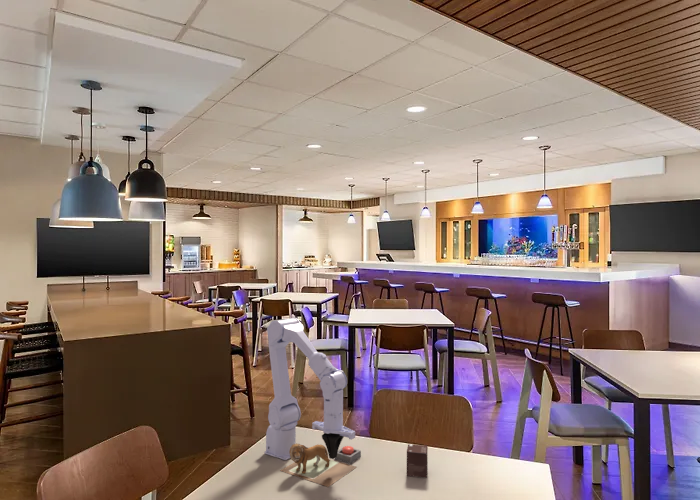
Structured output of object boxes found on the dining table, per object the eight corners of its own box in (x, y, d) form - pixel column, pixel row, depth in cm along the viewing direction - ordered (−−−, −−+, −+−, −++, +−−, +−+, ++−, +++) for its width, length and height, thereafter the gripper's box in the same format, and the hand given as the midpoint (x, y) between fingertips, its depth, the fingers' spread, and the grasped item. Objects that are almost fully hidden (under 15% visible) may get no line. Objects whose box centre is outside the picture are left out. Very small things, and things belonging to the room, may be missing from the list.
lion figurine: (295, 479, 139) (295, 448, 139) (285, 473, 143) (285, 442, 143) (334, 465, 148) (334, 435, 148) (324, 459, 153) (324, 431, 153)
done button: (340, 453, 153) (340, 449, 153) (346, 449, 156) (346, 445, 156) (349, 456, 151) (349, 451, 151) (355, 452, 154) (355, 447, 154)
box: (426, 478, 140) (427, 453, 140) (406, 476, 141) (406, 451, 141) (427, 469, 146) (427, 445, 146) (407, 467, 147) (408, 443, 147)
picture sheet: (280, 470, 145) (280, 470, 145) (310, 453, 157) (310, 453, 157) (328, 487, 135) (328, 486, 135) (356, 467, 147) (356, 466, 147)
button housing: (334, 458, 153) (334, 452, 153) (345, 452, 158) (345, 446, 158) (350, 463, 150) (350, 457, 150) (360, 456, 155) (360, 450, 155)
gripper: (306, 411, 144) (305, 456, 144) (345, 421, 136) (345, 468, 136) (320, 404, 150) (319, 448, 150) (359, 414, 142) (358, 459, 142)
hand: (332, 457), depth 144 cm, fingers closed
